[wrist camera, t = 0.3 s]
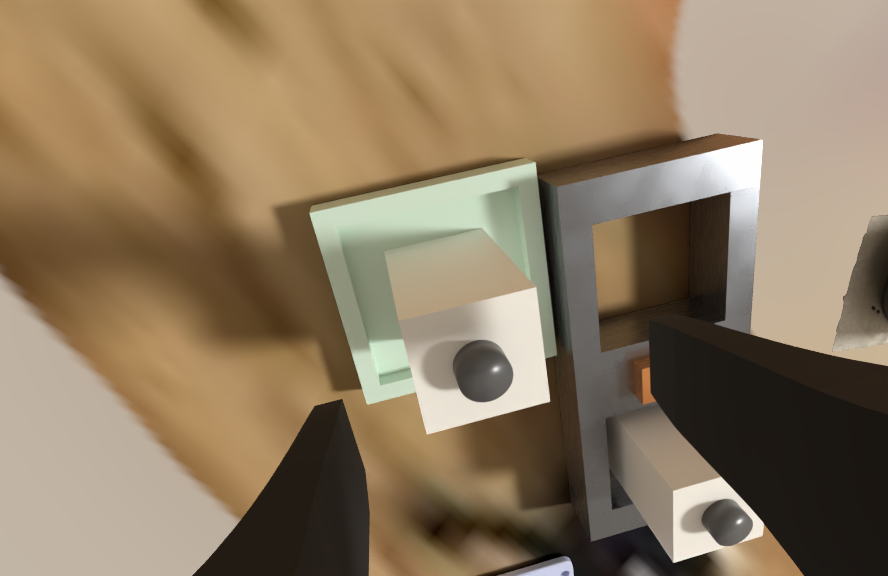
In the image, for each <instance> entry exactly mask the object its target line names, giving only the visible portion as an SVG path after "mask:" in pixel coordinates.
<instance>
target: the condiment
mask: <svg viewBox="0 0 888 576" xmlns="http://www.w3.org/2000/svg"><path fill="white" fill-rule="evenodd" d="M843 301H844V305H843V311H842V315H841V319H840V321H839V324H838V326H837V334H836V338H835V342H834V346H833V349H832V352H834V351H840V350H849V349H853V348H859V347H860V348H863V347H869V346H872V345H882V344H886V343H888V215H881V216H873V217H872V218H871V220H870V223H869V226H868V229H867V233H866V234H865V235H864V237H863V241H862V244H861V247H860V250H859V253H858V257H857V262H856V264H855V266H854V268H853V272H852V275H851V279H850V283H849V287H848V291H847V294H846V295H845V296H843Z"/></svg>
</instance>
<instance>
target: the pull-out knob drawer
mask: <svg viewBox="0 0 888 576" xmlns="http://www.w3.org/2000/svg"><path fill="white" fill-rule="evenodd" d="M606 431H607V445H608V459H609V468H610V469H611V471H612V472H613V474H614V475H615V477H616V478H617V480H618V481H619V483H620V484H621V486H622V487H623V489H624V490H625V492H626V493H627V495H628V496H629V498H630V499H631V500H632V502H633V503H634V505H635V506H636V508H637V509H638V511H639V512H640V514H641V515H642V517H643V518H644V520H645V521H646V523H647V524H648V526H649V527H650V529H651V530H652V532H653V533H654V535H655V536H656V538H657V539H658V541H659V542H660V543H661V545H662V546H663V548H664V549H665V551H666V552H667V554H668V555H669V557H670V558H671V560H672V561H673V563H674V562H678V561H681V560H684V559H688V558H691V557H694V556H698V555H701V554H704V553H707V552H711V551H714V550H717V549H721V548H724V547H727V546H732V545H735V544H737V543H741V542H744V541H747V540H750V539H754V538H757V537H760V536H763V525H764V523H763V522H762V521H761V520H760V518H759V517H758V516H757V515H756V514H755V513H754V512H753V510H752V509H751V508H750V507H749V506H748V505H747V504H746V503H745V501H744V500H743V499H742V498H741V497H740V496H739V495H738V494H737V493H736V492H735V491H734V490H733V489H732V488H731V487H730V486H729V485H728V484H727V482H726V481H725V480H724V479H723V478H722V477H721V476H720V475H719V474H718V473H717V472H716V471H715V470H714V469H713V468H712V467H711V466H710V465H709V464H708V462H707V461H706V460H705V459H704V458H703V457H702V456H701V455H700V454H699V453H698V452H697V451H696V450H695V449H694V448H693V447H692V445H691V444H690V443H689V442H688V441H687V440H686V439H685V438H684V437H683V436H682V435H681V434H680V432H679V431H678V430H677V429H676V428H675V427H674V425H673V424H672V423H671V421H670V420H669V419H668V417H667V416H666V415H665V413H664V412H663V410H662V409H661V407H660V406H659V405H658V404H656V405H652V406H649V407H645V408H641V409H638V410H634V411H630V412H627V413H623V414H619V415H616V416H612V417H608V418H606Z"/></svg>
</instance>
